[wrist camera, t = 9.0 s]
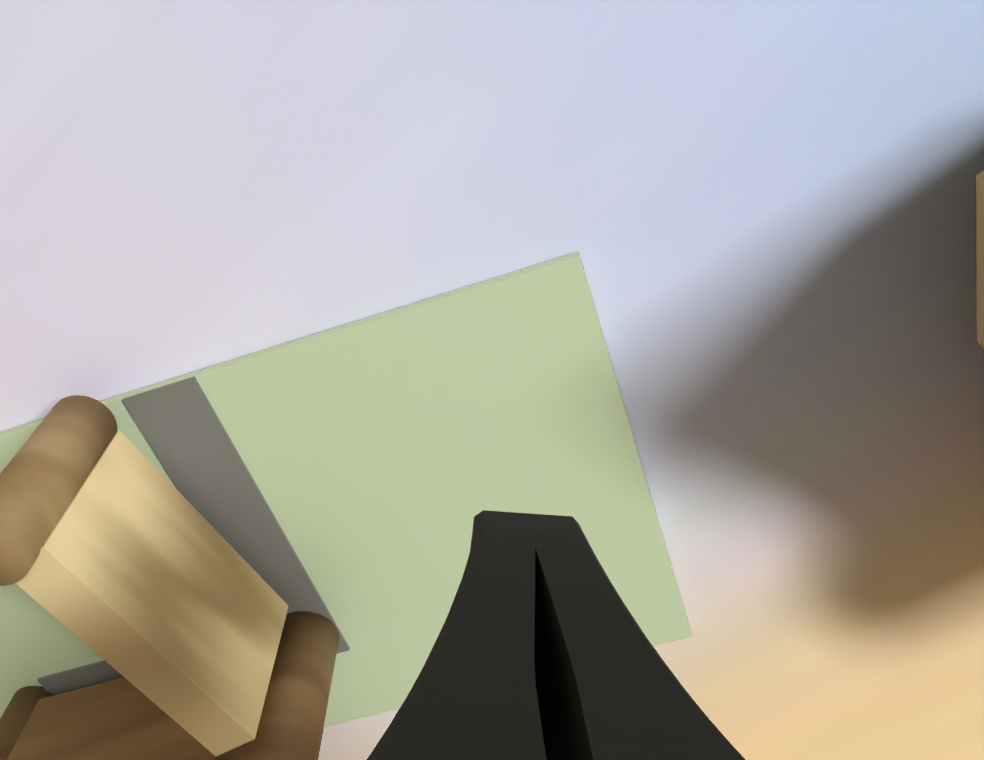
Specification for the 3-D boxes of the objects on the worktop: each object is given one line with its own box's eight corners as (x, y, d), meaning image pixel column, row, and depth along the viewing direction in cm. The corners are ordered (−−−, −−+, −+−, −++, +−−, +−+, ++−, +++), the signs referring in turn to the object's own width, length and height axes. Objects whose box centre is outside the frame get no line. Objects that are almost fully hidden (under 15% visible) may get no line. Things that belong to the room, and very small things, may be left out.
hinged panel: (294, 602, 25) (257, 754, 21) (250, 624, 25) (204, 777, 21) (85, 384, 21) (-13, 512, 17) (37, 414, 22) (-71, 545, 17)
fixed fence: (3, 680, 27) (-103, 860, 22) (324, 594, 26) (289, 765, 21) (38, 721, 28) (-55, 902, 23) (350, 640, 27) (323, 815, 22)
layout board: (-202, 495, 24) (-212, 504, 23) (578, 251, 21) (580, 257, 20) (59, 785, 30) (54, 795, 30) (690, 628, 27) (693, 638, 27)
